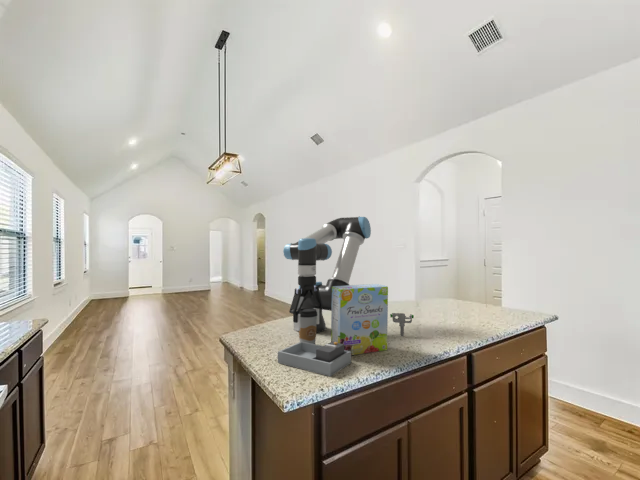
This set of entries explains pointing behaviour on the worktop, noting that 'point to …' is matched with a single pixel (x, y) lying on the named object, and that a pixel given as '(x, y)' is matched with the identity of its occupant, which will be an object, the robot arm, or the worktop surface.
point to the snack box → (360, 317)
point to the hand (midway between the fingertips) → (306, 327)
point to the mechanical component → (401, 320)
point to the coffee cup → (308, 325)
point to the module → (330, 352)
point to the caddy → (311, 359)
